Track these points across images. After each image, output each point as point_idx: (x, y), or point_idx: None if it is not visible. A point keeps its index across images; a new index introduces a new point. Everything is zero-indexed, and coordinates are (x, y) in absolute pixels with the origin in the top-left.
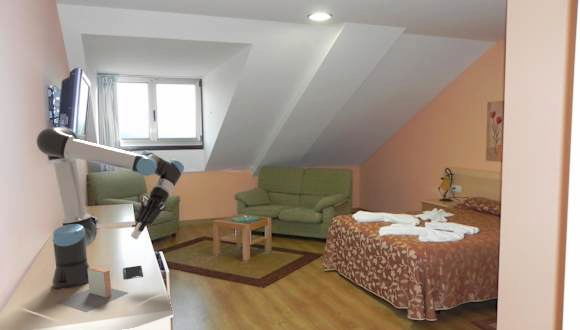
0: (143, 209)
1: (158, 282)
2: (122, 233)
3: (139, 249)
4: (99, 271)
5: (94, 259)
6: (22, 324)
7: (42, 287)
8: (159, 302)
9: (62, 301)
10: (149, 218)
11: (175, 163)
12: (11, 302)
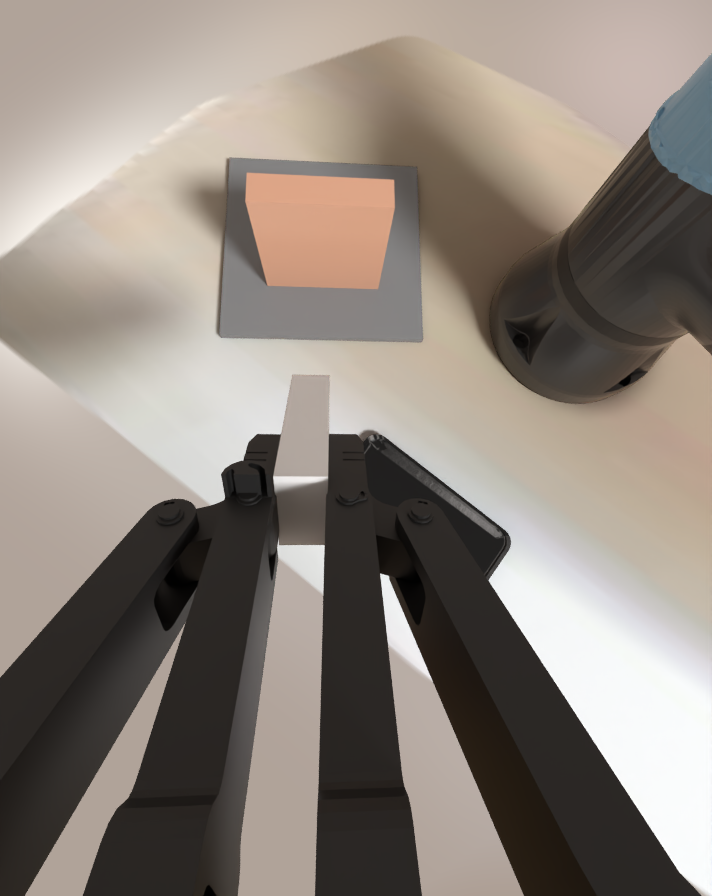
0: (513, 794)
1: (198, 492)
2: None
3: None
4: (288, 176)
5: None
6: (361, 48)
7: None
8: (29, 333)
9: (401, 180)
10: (122, 551)
11: None
12: (574, 124)
